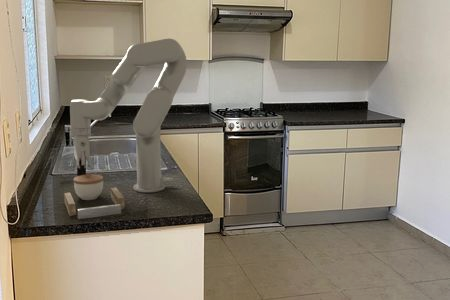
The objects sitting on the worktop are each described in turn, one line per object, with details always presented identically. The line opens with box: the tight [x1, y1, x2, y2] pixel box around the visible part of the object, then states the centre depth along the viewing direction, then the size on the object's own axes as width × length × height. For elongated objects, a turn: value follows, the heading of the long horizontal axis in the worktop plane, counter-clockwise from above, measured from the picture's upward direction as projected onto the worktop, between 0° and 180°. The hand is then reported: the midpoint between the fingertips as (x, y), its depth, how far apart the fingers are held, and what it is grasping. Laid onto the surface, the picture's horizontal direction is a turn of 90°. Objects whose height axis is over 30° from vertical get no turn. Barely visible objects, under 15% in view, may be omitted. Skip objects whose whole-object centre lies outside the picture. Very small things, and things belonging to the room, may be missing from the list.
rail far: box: [63, 192, 77, 217], centre depth 170 cm, size 2×14×4 cm, turn 24°
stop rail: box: [76, 203, 122, 220], centre depth 163 cm, size 14×2×3 cm, turn 114°
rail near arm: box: [110, 187, 125, 210], centre depth 176 cm, size 2×14×4 cm, turn 24°
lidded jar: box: [73, 172, 104, 201], centre depth 182 cm, size 11×11×9 cm
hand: (81, 177), depth 192 cm, fingers closed
